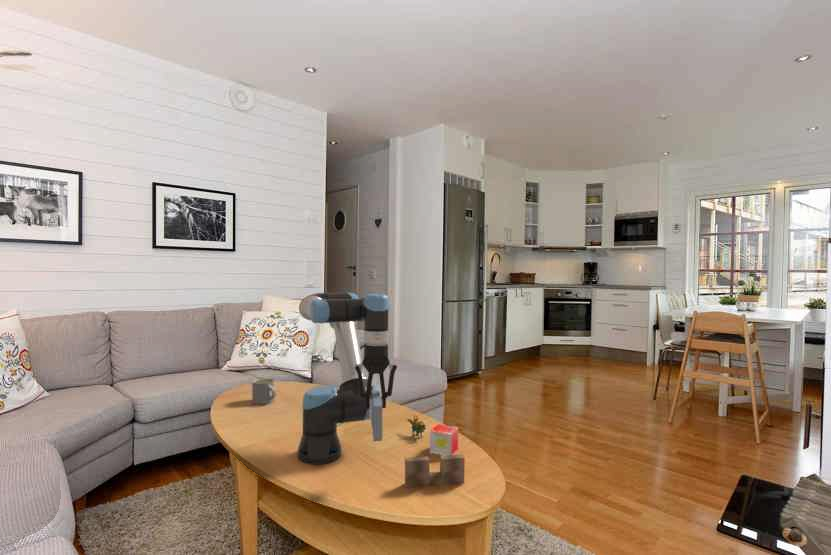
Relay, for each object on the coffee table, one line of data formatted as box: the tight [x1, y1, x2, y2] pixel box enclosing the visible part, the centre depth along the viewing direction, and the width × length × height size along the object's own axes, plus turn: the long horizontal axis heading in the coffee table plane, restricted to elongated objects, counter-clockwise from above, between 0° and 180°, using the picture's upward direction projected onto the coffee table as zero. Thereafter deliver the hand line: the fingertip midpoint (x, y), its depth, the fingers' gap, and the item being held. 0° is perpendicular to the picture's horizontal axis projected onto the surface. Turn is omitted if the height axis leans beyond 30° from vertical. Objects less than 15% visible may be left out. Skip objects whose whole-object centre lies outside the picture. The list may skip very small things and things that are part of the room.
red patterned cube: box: [429, 423, 459, 456], centre depth 157 cm, size 8×8×8 cm
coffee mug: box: [251, 378, 277, 405], centre depth 211 cm, size 13×10×10 cm
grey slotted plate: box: [370, 389, 383, 442], centre depth 132 cm, size 2×16×10 cm, turn 8°
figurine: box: [406, 414, 427, 440], centre depth 171 cm, size 3×12×8 cm, turn 37°
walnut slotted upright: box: [404, 454, 466, 489], centre depth 134 cm, size 18×2×8 cm, turn 99°
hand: (375, 418), depth 137 cm, fingers closed on grey slotted plate, 2 cm apart
